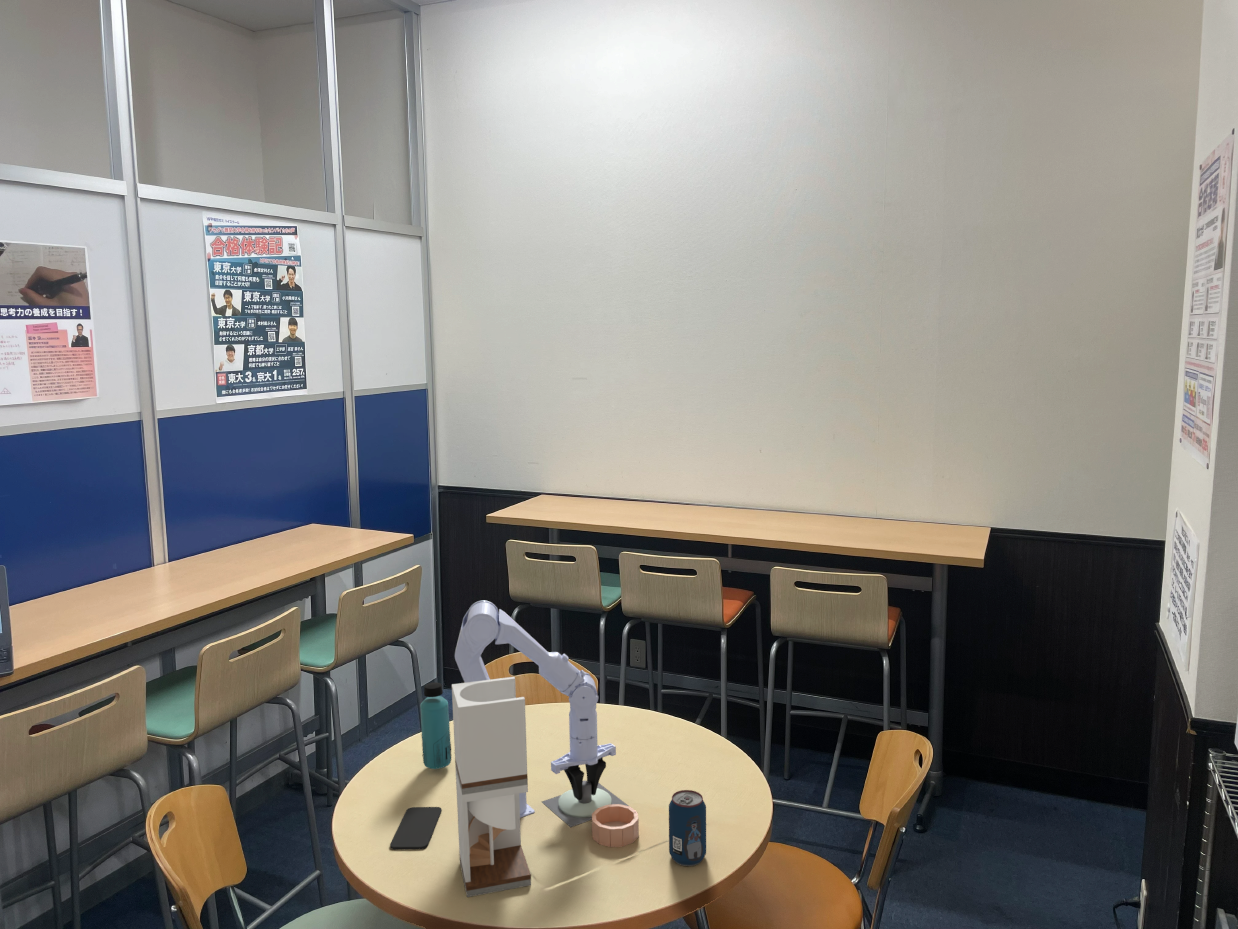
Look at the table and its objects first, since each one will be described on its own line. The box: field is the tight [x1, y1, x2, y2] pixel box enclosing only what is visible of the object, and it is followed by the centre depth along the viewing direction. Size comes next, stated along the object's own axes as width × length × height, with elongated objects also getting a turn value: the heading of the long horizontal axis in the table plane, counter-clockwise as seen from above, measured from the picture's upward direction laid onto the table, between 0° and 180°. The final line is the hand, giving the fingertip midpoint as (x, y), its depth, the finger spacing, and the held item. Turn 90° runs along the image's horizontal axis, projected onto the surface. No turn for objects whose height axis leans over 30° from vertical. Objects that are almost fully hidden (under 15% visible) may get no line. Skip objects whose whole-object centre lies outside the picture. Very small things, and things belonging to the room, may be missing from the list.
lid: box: [558, 780, 611, 818], centre depth 188 cm, size 11×11×4 cm
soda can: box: [668, 789, 707, 867], centre depth 169 cm, size 7×7×12 cm
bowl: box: [591, 804, 640, 848], centre depth 177 cm, size 9×9×4 cm
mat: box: [541, 782, 630, 828], centre depth 189 cm, size 14×12×1 cm
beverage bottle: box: [419, 681, 452, 770], centre depth 204 cm, size 6×7×20 cm
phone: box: [389, 806, 443, 851], centre depth 181 cm, size 7×1×15 cm
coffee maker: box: [451, 676, 532, 898], centre depth 163 cm, size 11×11×35 cm
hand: (584, 795), depth 188 cm, fingers closed on lid, 3 cm apart
